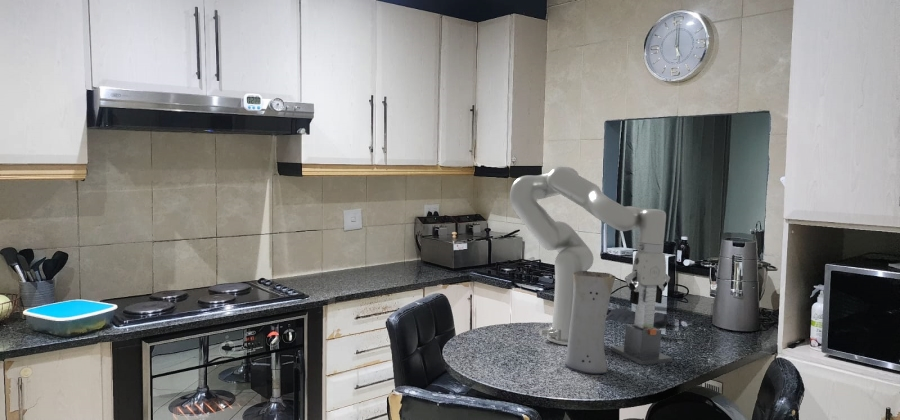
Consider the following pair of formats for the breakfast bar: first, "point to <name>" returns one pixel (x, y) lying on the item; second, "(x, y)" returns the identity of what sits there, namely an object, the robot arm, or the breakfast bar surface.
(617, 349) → the stand
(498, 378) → the breakfast bar surface
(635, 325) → the column
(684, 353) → the breakfast bar surface
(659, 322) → the dark slate chunk
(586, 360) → the vase
